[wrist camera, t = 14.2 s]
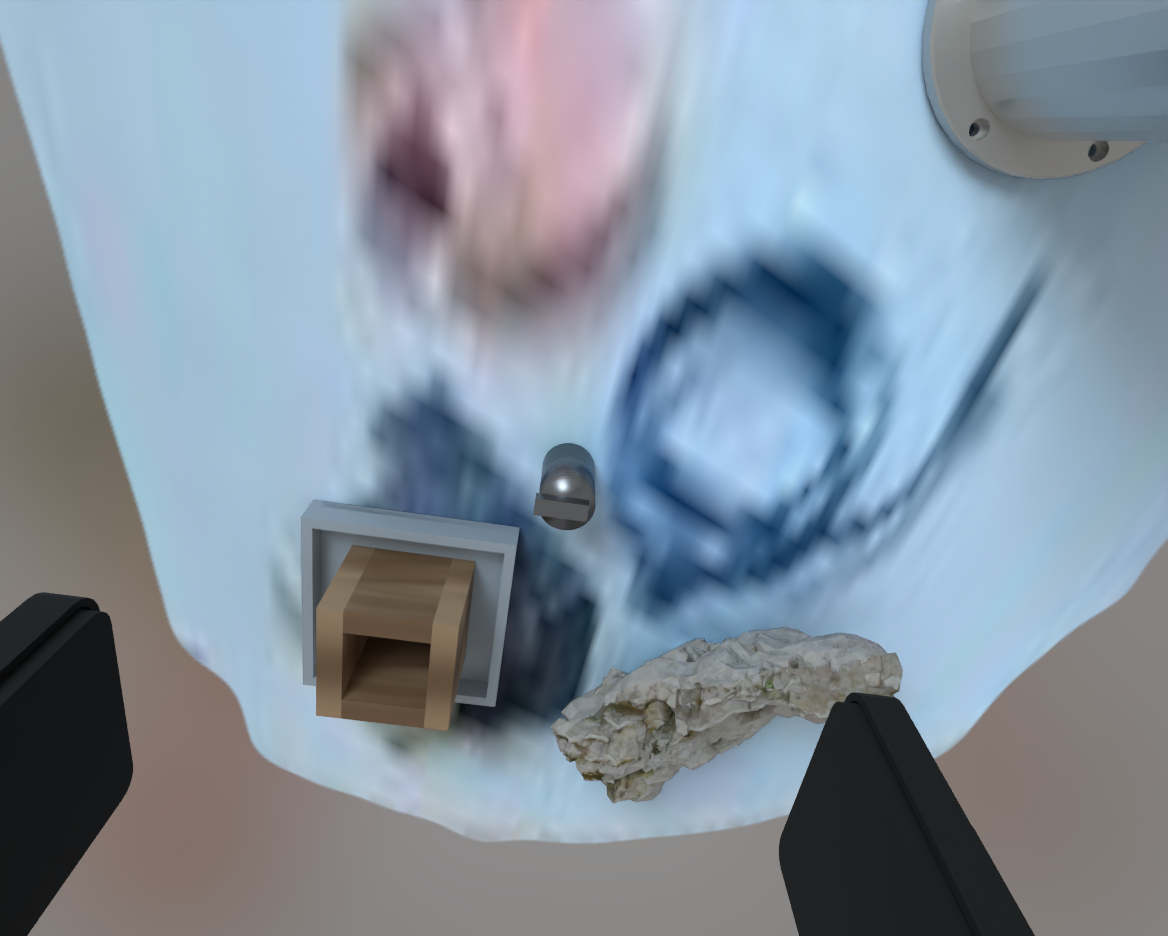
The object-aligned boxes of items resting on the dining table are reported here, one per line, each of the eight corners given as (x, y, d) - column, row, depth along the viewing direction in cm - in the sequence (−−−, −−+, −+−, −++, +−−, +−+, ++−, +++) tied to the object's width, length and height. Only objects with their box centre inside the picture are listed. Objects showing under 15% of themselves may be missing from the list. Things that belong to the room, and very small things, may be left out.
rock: (628, 677, 51) (605, 823, 45) (560, 597, 45) (522, 754, 38) (912, 664, 43) (934, 841, 36) (879, 562, 36) (899, 756, 30)
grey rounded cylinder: (597, 447, 38) (599, 489, 34) (589, 492, 40) (590, 539, 35) (543, 439, 38) (538, 480, 34) (537, 485, 39) (530, 531, 35)
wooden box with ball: (352, 544, 40) (316, 608, 35) (475, 561, 41) (458, 626, 35) (349, 660, 44) (316, 734, 38) (463, 674, 44) (446, 749, 39)
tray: (519, 527, 40) (516, 545, 39) (498, 684, 45) (495, 706, 43) (313, 499, 40) (300, 517, 38) (314, 662, 45) (303, 684, 43)
